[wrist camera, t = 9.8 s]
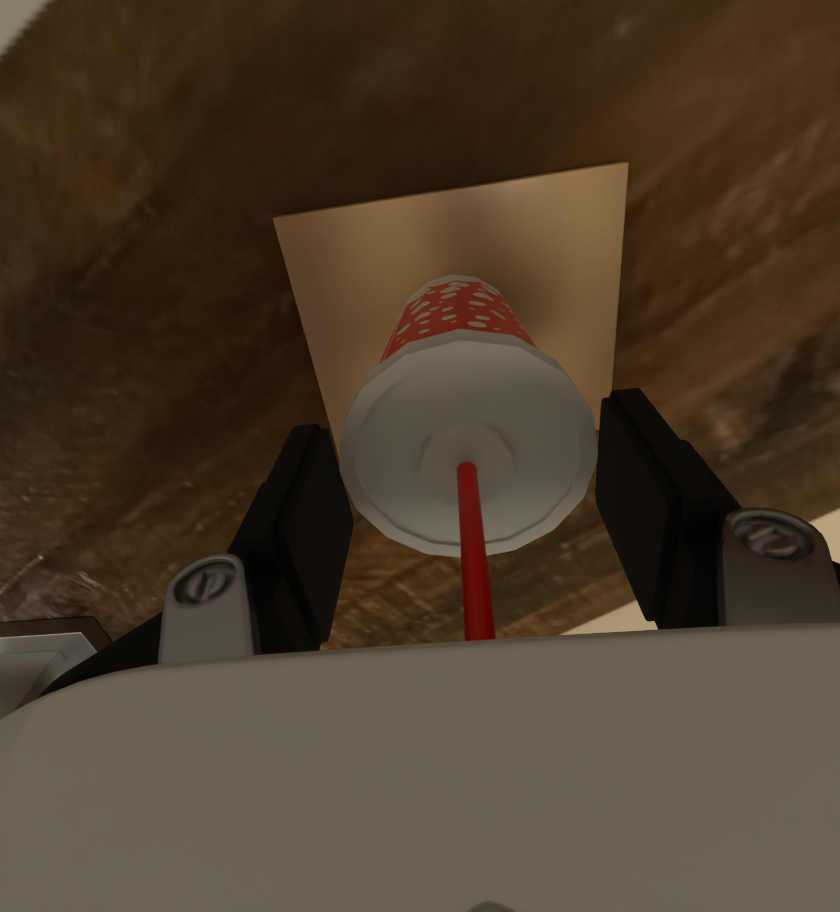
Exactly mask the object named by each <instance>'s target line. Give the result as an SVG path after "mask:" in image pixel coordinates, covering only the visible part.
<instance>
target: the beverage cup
mask: <svg viewBox="0 0 840 912" xmlns="http://www.w3.org/2000/svg"><path fill="white" fill-rule="evenodd" d="M597 460H598V449H597V440H596V432H595V423H594V414H593V412H592V410H591V408H590V407H589V405H588V404H587V402H586V401H585V400H584V398H583V397H582V395H581V394H580V392H579V391H578V389H577V388H576V386H575V385H574V384H573V382H572V381H571V379H570V378H569V376H568V375H567V373H566V372H565V371H564V369H563V368H562V366H561V365H560V364H559V362H558V361H557V360H556V359H554V358H552V357H551V356H549V355H547V354H545V353H544V352H542V351H540V350H538V348H537V347H536V345H535V344H534V342H533V341H532V339H531V338H530V336H529V335H528V333H527V332H526V330H525V329H524V327H523V326H522V324H521V323H520V321H519V320H518V318H517V317H516V315H515V314H514V312H513V311H512V309H511V308H510V306H509V305H508V304H507V302H506V301H505V299H504V298H503V296H502V295H501V294H500V292H499V291H498V289H496V288H494V287H493V286H491V285H489V284H488V283H486V282H484V281H482V280H481V279H479V278H477V277H471V276H463V275H454V274H452V275H448V276H445V277H442V278H438V279H435V280H431V281H428V282H427V283H426V284H425V285H424V286H422V287H421V288H420V289H419V290H417V291H416V292H415V293H414V294H413V295H411V296H410V297H409V299H408V301H407V303H406V305H405V307H404V309H403V311H402V313H401V314H400V316H399V318H398V321H397V323H396V325H395V328H394V330H393V332H392V335H391V337H390V339H389V342H388V344H387V346H386V348H385V351H384V353H383V355H382V358H381V360H380V362H379V365H378V366H377V367H375V368H374V369H373V370H372V371H370V372H369V373H368V374H367V376H366V378H365V379H364V381H363V383H362V385H361V387H360V389H359V391H358V393H357V395H356V396H355V398H354V400H353V402H352V404H351V406H350V408H349V410H348V412H347V415H346V417H345V418H344V420H343V422H342V425H341V428H340V451H339V470H340V474H341V477H342V479H343V481H344V484H345V486H346V488H347V490H348V492H349V494H350V497H351V499H352V501H353V503H354V505H355V507H356V509H357V510H358V511H359V512H360V513H361V514H362V515H363V516H364V517H365V518H367V519H368V520H369V521H370V522H371V523H372V524H373V525H374V526H375V527H376V528H378V529H379V530H380V531H381V532H382V533H383V534H384V535H385V536H386V537H388V538H390V539H393V540H395V541H397V542H400V543H402V544H404V545H407V546H409V547H411V548H414V549H416V550H419V551H421V552H423V553H426V554H432V555H442V556H452V557H461V568H462V588H463V607H464V626H465V641H475V640H492V639H496V636H495V627H494V618H493V609H492V600H491V591H490V583H489V574H488V565H487V556H486V555H491V554H497V553H502V552H508V551H513V550H516V549H518V548H520V547H522V546H524V545H525V544H527V543H529V542H531V541H533V540H535V539H537V538H539V537H541V536H543V535H545V534H547V533H548V532H550V531H552V530H554V529H555V528H556V527H557V526H558V525H559V524H560V523H561V522H562V520H563V519H564V518H565V517H566V516H567V515H568V514H569V513H570V512H571V511H572V510H573V509H574V508H575V507H576V506H577V505H578V503H579V502H580V501H581V500H582V499H583V498H584V496H585V493H586V490H587V488H588V485H589V482H590V479H591V477H592V474H593V471H594V469H595V466H596V463H597Z"/></svg>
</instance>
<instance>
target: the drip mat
mask: <svg viewBox="0 0 840 912" xmlns="http://www.w3.org/2000/svg"><path fill="white" fill-rule="evenodd" d="M628 167H629V162H626V161H619V162H613V163H607V164H600V165H594V166H588V167H581V168H575V169H569V170H562V171H556V172H550V173H543V174H537V175H531V176H524V177H518V178H512V179H505V180H499V181H493V182H486V183H480V184H474V185H467V186H461V187H455V188H448V189H442V190H436V191H429V192H423V193H417V194H410V195H404V196H398V197H391V198H385V199H379V200H372V201H366V202H360V203H353V204H347V205H341V206H334V207H328V208H322V209H315V210H309V211H303V212H296V213H290V214H284V215H278V216H276V217H274V218H273V221H274V225H275V228H276V232H277V236H278V239H279V243H280V246H281V250H282V254H283V257H284V261H285V265H286V268H287V272H288V275H289V279H290V283H291V286H292V290H293V293H294V297H295V301H296V304H297V308H298V312H299V315H300V319H301V322H302V326H303V330H304V333H305V337H306V340H307V344H308V348H309V351H310V355H311V358H312V362H313V366H314V369H315V373H316V377H317V380H318V384H319V387H320V391H321V395H322V398H323V402H324V405H325V409H326V413H327V416H328V420H329V424H330V427H331V431H332V434H333V438H334V442H335V445H336V449H337V452H338V456H339V451H340V428H341V425H342V422H343V420H344V418H345V417H346V415H347V412H348V410H349V408H350V406H351V404H352V402H353V400H354V398H355V396H356V395H357V393H358V391H359V389H360V387H361V385H362V383H363V381H364V379H365V378H366V376H367V374H368V373H369V372H370V371H372V370H373V369H374V368H375V367H377V366H378V365H379V362H380V360H381V358H382V355H383V353H384V351H385V348H386V346H387V344H388V342H389V339H390V337H391V335H392V332H393V330H394V328H395V325H396V323H397V321H398V318H399V316H400V314H401V313H402V311H403V309H404V307H405V305H406V303H407V301H408V299H409V297H410V296H411V295H413V294H414V293H415V292H416V291H417V290H419V289H420V288H421V287H422V286H424V285H425V284H426V283H427V282H428V281H431V280H435V279H438V278H442V277H445V276H448V275H452V274H454V275H463V276H471V277H477V278H479V279H481V280H482V281H484V282H486V283H488V284H489V285H491V286H493V287H494V288H496V289H498V291H499V292H500V294H501V295H502V296H503V298H504V299H505V301H506V302H507V304H508V305H509V306H510V308H511V309H512V311H513V312H514V314H515V315H516V317H517V318H518V320H519V321H520V323H521V324H522V326H523V327H524V329H525V330H526V332H527V333H528V335H529V336H530V338H531V339H532V341H533V342H534V344H535V345H536V347H537V348H538V350H540V351H542V352H544V353H545V354H547V355H549V356H551V357H552V358H554V359H556V360H557V361H558V362H559V364H560V365H561V366H562V368H563V369H564V371H565V372H566V373H567V375H568V376H569V378H570V379H571V381H572V382H573V384H574V385H575V386H576V388H577V389H578V391H579V392H580V394H581V395H582V397H583V398H584V400H585V401H586V402H587V404H588V405H589V407H590V408H591V410H592V412H593V414H594V423H595V430H599V426H600V410H601V401H602V399H603V398H607V397H609V395H610V392H611V391H612V381H613V368H614V354H615V341H616V328H617V314H618V301H619V287H620V274H621V261H622V247H623V234H624V221H625V207H626V194H627V180H628Z"/></svg>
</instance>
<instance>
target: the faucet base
mask: <svg viewBox="0 0 840 912" xmlns="http://www.w3.org/2000/svg"><path fill="white" fill-rule="evenodd" d="M111 643H112V642H111V640H110V639H109V638H108V636H107V635H106V634H105V632H104V631H103V630H102V629H101V627H100V626H99V625H98V623H97V622H96V621H95V619H94V618H93V617H78V618H64V619H50V620H36V621H22V622H8V623H0V720H1V719H2V718H4V717H5V716H7V715H8V714H10V713H12V712H13V711H15V710H17V709H19V708H21V707H22V706H24V705H26V704H28V703H30V702H32V701H34V700H36V699H37V698H38V696H39V695H40V694H41V693H42V692H43V691H44V690H45V689H46V688H47V687H48V686H49V685H50V684H51V683H52V682H53V681H54V680H55V679H57V678H58V677H60V676H61V675H62V674H64V673H65V672H66V671H68V670H70V669H71V668H73V667H74V666H76V665H78V664H79V663H81V662H82V661H84V660H86V659H87V658H89V657H90V656H92V655H94V654H95V653H97V652H98V651H100V650H102V649H103V648H105V647H106V646H108V645H110V644H111Z"/></svg>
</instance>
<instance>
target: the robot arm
mask: <svg viewBox="0 0 840 912" xmlns="http://www.w3.org/2000/svg"><path fill="white" fill-rule="evenodd" d="M595 496H596V503H597V507H598V509H599V512H600V514H601V517H602V519H603V521H604V524H605V526H606V528H607V531H608V533H609V535H610V538H611V540H612V542H613V545H614V547H615V550H616V552H617V554H618V557H619V559H620V561H621V564H622V566H623V568H624V571H625V573H626V575H627V578H628V580H629V583H630V585H631V587H632V590H633V592H634V594H635V597H636V599H637V601H638V604H639V606H640V608H641V611H642V613H643V615H644V617H645V619H646V620H647V621H655V623H656V625H657V628H658V630H644V631H627V632H610V633H592V634H574V635H557V636H540V637H524V638H508V639H492V640H475V641H459V642H444V643H428V644H412V645H396V646H381V647H367V648H352V649H337V650H323V651H319V649H320V645H321V642H327V641H328V639H329V636H330V632H331V627H332V623H333V618H334V614H335V609H336V604H337V600H338V595H339V590H340V586H341V581H342V577H343V572H344V567H345V563H346V558H347V554H348V549H349V544H350V540H351V535H352V531H353V516H352V512H351V509H350V505H349V502H348V498H347V494H346V491H345V487H344V484H343V480H342V477H341V474H340V470H339V466H338V462H337V459H336V455H335V452H334V448H333V444H332V441H331V437H330V434H329V431H328V430H327V429H321V428H320V426H319V425H318V424H309V425H300V426H294V427H293V428H292V430H291V432H290V434H289V436H288V438H287V440H286V442H285V444H284V446H283V448H282V450H281V452H280V454H279V456H278V458H277V460H276V462H275V464H274V466H273V468H272V470H271V472H270V474H269V476H268V478H267V480H266V482H264V483H263V484H262V485H261V486H260V488H259V490H258V492H257V494H256V496H255V498H254V500H253V502H252V504H251V506H250V508H249V510H248V512H247V514H246V516H245V518H244V520H243V522H242V524H241V525H240V527H239V529H238V531H237V533H236V535H235V537H234V539H233V541H232V543H231V545H230V547H229V549H228V551H227V553H215V554H211V555H207V556H204V557H201V558H199V559H197V560H195V561H193V562H191V563H190V564H188V565H186V566H185V567H183V568H182V569H181V570H180V571H179V572H178V573H177V574H176V575H175V576H173V578H172V579H171V581H170V582H169V584H168V585H167V588H166V591H165V594H164V604H163V611H162V612H161V613H159V614H158V615H156V616H154V617H153V618H151V619H150V620H148V621H146V622H145V623H143V624H142V625H140V626H138V627H137V628H135V629H134V630H132V631H130V632H129V633H127V634H126V635H124V636H122V637H121V638H119V639H118V640H116V641H114V642H113V643H111V644H110V645H108V646H106V647H105V648H103V649H102V650H100V651H98V652H97V653H95V654H94V655H92V656H90V657H89V658H87V659H86V660H84V661H82V662H81V663H79V664H78V665H76V666H74V667H73V668H71V669H70V670H68V671H66V672H65V673H64V674H62V675H61V676H60V677H58V678H57V679H55V680H54V681H53V682H52V683H51V684H50V685H49V686H48V687H47V688H46V689H45V690H44V691H43V692H42V693H41V694H40V695H39V696H38V698H37V699H36V700H34V701H32V702H30V703H28V704H26V705H24V706H22V707H21V708H19V709H17V710H15V711H13V712H12V713H10V714H8V715H7V716H5V717H4V718H2V719H1V720H0V912H840V564H839V563H836V562H834V561H832V559H831V556H830V552H829V548H828V545H827V543H826V541H825V539H824V537H823V535H822V534H821V533H820V532H819V531H818V530H817V529H816V528H815V527H814V526H813V525H811V524H810V523H808V522H806V521H804V520H803V519H801V518H799V517H797V516H794V515H792V514H789V513H786V512H784V511H779V510H774V509H770V508H757V507H752V508H745V509H743V508H742V507H741V506H740V505H739V503H738V502H737V501H736V500H735V499H734V497H733V496H732V495H731V494H730V492H729V491H728V490H727V489H726V487H725V486H724V485H723V484H722V482H721V481H720V480H719V479H718V478H717V476H716V475H715V474H714V473H713V471H712V470H711V469H710V468H709V466H708V465H707V464H706V463H705V461H704V460H703V459H702V458H701V457H700V455H699V454H698V453H697V452H696V450H695V449H694V448H693V447H692V445H691V444H690V443H689V442H687V441H686V440H680V439H679V438H678V437H677V435H676V434H675V433H674V432H673V430H672V429H671V428H670V427H669V425H668V424H667V423H666V421H665V420H664V419H663V418H662V416H661V415H660V414H659V413H658V411H657V410H656V409H655V407H654V406H653V405H652V404H651V402H650V401H649V400H648V399H647V397H646V396H645V395H644V394H643V392H642V391H641V390H640V389H639V388H631V389H622V390H613V391H611V392H610V395H609V397H607V398H603V399H602V401H601V410H600V426H599V442H598V460H597V474H596V490H595Z"/></svg>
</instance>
